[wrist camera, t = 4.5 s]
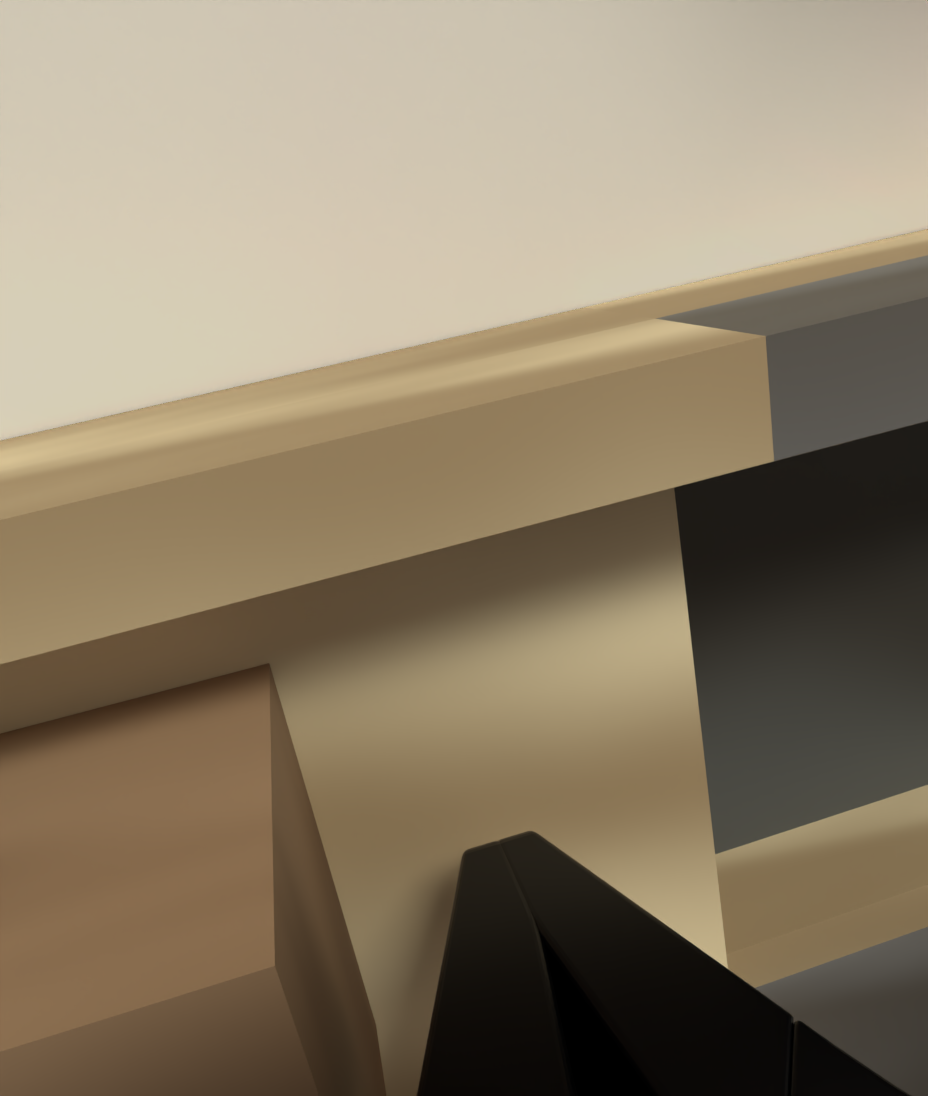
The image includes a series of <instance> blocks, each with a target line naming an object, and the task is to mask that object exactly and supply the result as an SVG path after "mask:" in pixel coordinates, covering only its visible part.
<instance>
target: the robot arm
mask: <svg viewBox="0 0 928 1096" xmlns="http://www.w3.org/2000/svg"><path fill="white" fill-rule="evenodd" d="M417 1096H911V1095H910V1094H908V1093H906V1092H905V1091H903V1090H901V1089H900V1088H898V1087H896V1086H895V1085H893V1084H892V1083H891V1082H889V1081H888V1080H886V1079H885V1078H883V1077H882V1076H880V1075H879V1074H877V1073H876V1072H874V1071H873V1070H871V1069H870V1068H868V1067H867V1066H865V1065H864V1064H862V1063H861V1062H859V1061H858V1060H856V1059H855V1058H853V1057H852V1056H851V1055H849V1054H848V1053H846V1052H845V1051H843V1050H842V1049H840V1048H839V1047H837V1046H836V1045H834V1044H833V1043H832V1042H830V1041H829V1040H827V1039H826V1038H825V1037H823V1036H822V1035H820V1034H819V1033H817V1032H816V1031H815V1030H813V1029H812V1028H811V1027H809V1026H808V1025H806V1024H805V1023H804V1022H802V1021H800V1020H797V1021H795V1022H794V1018H793V1016H792V1015H791V1014H790V1013H789V1012H788V1011H786V1010H785V1009H783V1008H782V1007H781V1006H779V1005H778V1004H776V1003H775V1002H774V1001H772V1000H771V999H769V998H768V997H767V996H765V995H764V994H762V993H761V992H760V991H758V990H757V989H755V988H754V987H753V986H751V985H750V984H748V983H747V982H746V981H744V980H743V979H741V978H740V977H739V976H737V975H736V974H734V973H733V972H732V971H730V970H729V969H727V968H726V967H724V966H723V965H722V964H720V963H719V962H717V961H716V960H715V959H713V958H712V957H710V956H709V955H708V954H706V953H705V952H703V951H702V950H701V949H699V948H698V947H696V946H695V945H694V944H692V943H691V942H689V941H688V940H687V939H685V938H684V937H682V936H681V935H680V934H678V933H677V932H675V931H674V930H673V929H671V928H670V927H668V926H667V925H666V924H664V923H663V922H661V921H660V920H659V919H657V918H656V917H654V916H653V915H652V914H650V913H649V912H647V911H646V910H645V909H643V908H642V907H640V906H639V905H638V904H636V903H635V902H633V901H632V900H630V899H629V898H628V897H626V896H625V895H623V894H622V893H621V892H619V891H618V890H616V889H615V888H614V887H612V886H611V885H609V884H608V883H607V882H605V881H604V880H602V879H601V878H600V877H598V876H597V875H595V874H594V873H593V872H591V871H590V870H588V869H587V868H586V867H584V866H583V865H581V864H580V863H579V862H577V861H576V860H574V859H573V858H572V857H570V856H569V855H567V854H566V853H565V852H563V851H562V850H560V849H559V848H558V847H556V846H555V845H553V844H552V843H551V842H549V841H548V840H546V839H545V838H544V837H542V836H541V835H539V834H538V833H536V832H533V831H526V832H523V833H520V834H516V835H513V836H510V837H506V838H503V839H500V840H499V841H493V842H490V843H486V844H483V845H480V846H476V847H473V848H470V849H467V850H466V851H465V852H464V853H463V855H462V858H461V863H460V868H459V873H458V879H457V884H456V889H455V895H454V900H453V905H452V911H451V916H450V921H449V927H448V932H447V937H446V943H445V948H444V953H443V959H442V964H441V969H440V975H439V980H438V985H437V991H436V996H435V1001H434V1007H433V1012H432V1017H431V1023H430V1028H429V1033H428V1039H427V1044H426V1049H425V1055H424V1060H423V1065H422V1071H421V1076H420V1081H419V1087H418V1092H417Z"/></svg>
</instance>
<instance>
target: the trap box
mask: <svg viewBox="0 0 928 1096" xmlns="http://www.w3.org/2000/svg"><path fill="white" fill-rule="evenodd" d="M268 663H269V664H270V667H271V671H272V674H273V678H274V681H275V684H276V688H277V691H278V695H279V698H280V701H281V705H282V708H283V712H284V715H285V718H286V722H287V725H288V728H289V732H290V735H291V739H292V742H293V745H294V749H295V752H296V756H297V759H298V762H299V766H300V769H301V773H302V776H303V779H304V783H305V786H306V789H307V793H308V796H309V800H310V803H311V806H312V810H313V813H314V817H315V820H316V823H317V827H318V830H319V834H320V837H321V840H322V844H323V847H324V851H325V854H326V857H327V861H328V864H329V867H330V871H331V874H332V878H333V881H334V884H335V888H336V891H337V895H338V898H339V901H340V905H341V908H342V912H343V915H344V918H345V922H346V925H347V928H348V932H349V935H350V939H351V942H352V945H353V949H354V952H355V956H356V959H357V962H358V966H359V969H360V973H361V976H362V979H363V983H364V986H365V989H366V993H367V996H368V1000H369V1003H370V1006H371V1010H372V1013H373V1017H374V1020H375V1023H376V1028H377V1035H378V1042H379V1048H380V1055H381V1062H382V1069H383V1075H384V1082H385V1089H386V1096H417V1092H418V1087H419V1081H420V1076H421V1071H422V1065H423V1060H424V1055H425V1049H426V1044H427V1039H428V1033H429V1028H430V1023H431V1017H432V1012H433V1007H434V1001H435V996H436V991H437V985H438V980H439V975H440V969H441V964H442V959H443V953H444V948H445V943H446V937H447V932H448V927H449V921H450V916H451V911H452V905H453V900H454V895H455V889H456V884H457V879H458V873H459V868H460V863H461V858H462V855H463V853H464V852H465V851H466V850H467V849H470V848H473V847H476V846H480V845H483V844H486V843H490V842H493V841H499V840H500V839H503V838H506V837H510V836H513V835H516V834H520V833H523V832H526V831H533V832H536V833H538V834H539V835H541V836H542V837H544V838H545V839H546V840H548V841H549V842H551V843H552V844H553V845H555V846H556V847H558V848H559V849H560V850H562V851H563V852H565V853H566V854H567V855H569V856H570V857H572V858H573V859H574V860H576V861H577V862H579V863H580V864H581V865H583V866H584V867H586V868H587V869H588V870H590V871H591V872H593V873H594V874H595V875H597V876H598V877H600V878H601V879H602V880H604V881H605V882H607V883H608V884H609V885H611V886H612V887H614V888H615V889H616V890H618V891H619V892H621V893H622V894H623V895H625V896H626V897H628V898H629V899H630V900H632V901H633V902H635V903H636V904H638V905H639V906H640V907H642V908H643V909H645V910H646V911H647V912H649V913H650V914H652V915H653V916H654V917H656V918H657V919H659V920H660V921H661V922H663V923H664V924H666V925H667V926H668V927H670V928H671V929H673V930H674V931H675V932H677V933H678V934H680V935H681V936H682V937H684V938H685V939H687V940H688V941H689V942H691V943H692V944H694V945H695V946H696V947H698V948H699V949H701V950H702V951H703V952H705V953H706V954H708V955H709V956H710V957H712V958H713V959H715V960H716V961H717V962H719V963H720V964H722V965H723V966H724V967H726V968H727V969H729V970H730V971H732V972H733V973H734V974H736V975H737V976H739V977H740V978H741V979H743V980H744V981H746V982H747V983H748V984H750V985H751V986H753V987H754V988H755V989H757V990H758V991H760V992H761V993H762V994H764V995H765V996H767V997H768V998H769V999H771V1000H772V1001H774V1002H775V1003H776V1004H778V1005H779V1006H781V1007H782V1008H783V1009H785V1010H786V1011H788V1012H789V1013H790V1014H791V1015H792V1016H793V1018H794V1022H795V1021H797V1020H800V1021H802V1022H804V1023H805V1024H806V1025H808V1026H809V1027H811V1028H812V1029H813V1030H815V1031H816V1032H817V1033H819V1034H820V1035H822V1036H823V1037H825V1038H826V1039H827V1040H829V1041H830V1042H832V1043H833V1044H834V1045H836V1046H837V1047H839V1048H840V1049H842V1050H843V1051H845V1052H846V1053H848V1054H849V1055H851V1056H852V1057H853V1058H855V1059H856V1060H858V1061H859V1062H861V1063H862V1064H864V1065H865V1066H867V1067H868V1068H870V1069H871V1070H873V1071H874V1072H876V1073H877V1074H879V1075H880V1076H882V1077H883V1078H885V1079H886V1080H888V1081H889V1082H891V1083H892V1084H893V1085H895V1086H896V1087H898V1088H900V1089H901V1090H903V1091H905V1092H906V1093H908V1094H910V1095H911V1096H928V229H926V230H922V231H918V232H913V233H909V234H904V235H900V236H896V237H891V238H887V239H883V240H878V241H874V242H869V243H865V244H861V245H856V246H852V247H847V248H843V249H839V250H834V251H830V252H826V253H821V254H817V255H812V256H808V257H804V258H799V259H795V260H790V261H786V262H782V263H777V264H773V265H769V266H764V267H760V268H755V269H751V270H747V271H742V272H738V273H734V274H729V275H725V276H720V277H716V278H712V279H707V280H703V281H698V282H694V283H690V284H685V285H681V286H677V287H672V288H668V289H663V290H659V291H655V292H650V293H646V294H641V295H637V296H633V297H628V298H624V299H620V300H615V301H611V302H606V303H602V304H598V305H593V306H589V307H585V308H580V309H576V310H571V311H567V312H563V313H558V314H554V315H549V316H545V317H541V318H536V319H532V320H528V321H523V322H519V323H514V324H510V325H506V326H501V327H497V328H493V329H488V330H484V331H479V332H475V333H471V334H466V335H462V336H457V337H453V338H449V339H444V340H440V341H436V342H431V343H427V344H422V345H418V346H414V347H409V348H405V349H400V350H396V351H392V352H387V353H383V354H379V355H374V356H370V357H365V358H361V359H357V360H352V361H348V362H344V363H339V364H335V365H330V366H326V367H322V368H317V369H313V370H308V371H304V372H300V373H295V374H291V375H287V376H282V377H278V378H273V379H269V380H265V381H260V382H256V383H251V384H247V385H243V386H238V387H234V388H230V389H225V390H221V391H216V392H212V393H208V394H203V395H199V396H195V397H190V398H186V399H181V400H177V401H173V402H168V403H164V404H159V405H155V406H151V407H146V408H142V409H138V410H133V411H129V412H124V413H120V414H116V415H111V416H107V417H102V418H98V419H94V420H89V421H85V422H81V423H76V424H72V425H67V426H63V427H59V428H54V429H50V430H46V431H41V432H37V433H32V434H28V435H24V436H19V437H15V438H10V439H6V440H2V441H0V734H1V733H5V732H9V731H12V730H16V729H20V728H24V727H28V726H31V725H35V724H39V723H43V722H47V721H51V720H54V719H58V718H62V717H66V716H70V715H73V714H77V713H81V712H85V711H89V710H93V709H96V708H100V707H104V706H108V705H112V704H115V703H119V702H123V701H127V700H131V699H135V698H138V697H142V696H146V695H150V694H154V693H157V692H161V691H165V690H169V689H173V688H176V687H180V686H184V685H188V684H192V683H196V682H199V681H203V680H207V679H211V678H215V677H218V676H222V675H226V674H230V673H234V672H238V671H241V670H245V669H249V668H253V667H257V666H260V665H264V664H268Z"/></svg>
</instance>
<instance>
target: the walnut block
mask: <svg viewBox="0 0 928 1096" xmlns="http://www.w3.org/2000/svg"><path fill="white" fill-rule="evenodd" d="M0 1096H386V1089H385V1082H384V1075H383V1069H382V1062H381V1055H380V1048H379V1042H378V1035H377V1028H376V1023H375V1020H374V1017H373V1013H372V1010H371V1006H370V1003H369V1000H368V996H367V993H366V989H365V986H364V983H363V979H362V976H361V973H360V969H359V966H358V962H357V959H356V956H355V952H354V949H353V945H352V942H351V939H350V935H349V932H348V928H347V925H346V922H345V918H344V915H343V912H342V908H341V905H340V901H339V898H338V895H337V891H336V888H335V884H334V881H333V878H332V874H331V871H330V867H329V864H328V861H327V857H326V854H325V851H324V847H323V844H322V840H321V837H320V834H319V830H318V827H317V823H316V820H315V817H314V813H313V810H312V806H311V803H310V800H309V796H308V793H307V789H306V786H305V783H304V779H303V776H302V773H301V769H300V766H299V762H298V759H297V756H296V752H295V749H294V745H293V742H292V739H291V735H290V732H289V728H288V725H287V722H286V718H285V715H284V712H283V708H282V705H281V701H280V698H279V695H278V691H277V688H276V684H275V681H274V678H273V674H272V671H271V667H270V664H269V663H268V664H264V665H260V666H257V667H253V668H249V669H245V670H241V671H238V672H234V673H230V674H226V675H222V676H218V677H215V678H211V679H207V680H203V681H199V682H196V683H192V684H188V685H184V686H180V687H176V688H173V689H169V690H165V691H161V692H157V693H154V694H150V695H146V696H142V697H138V698H135V699H131V700H127V701H123V702H119V703H115V704H112V705H108V706H104V707H100V708H96V709H93V710H89V711H85V712H81V713H77V714H73V715H70V716H66V717H62V718H58V719H54V720H51V721H47V722H43V723H39V724H35V725H31V726H28V727H24V728H20V729H16V730H12V731H9V732H5V733H1V734H0Z"/></svg>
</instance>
